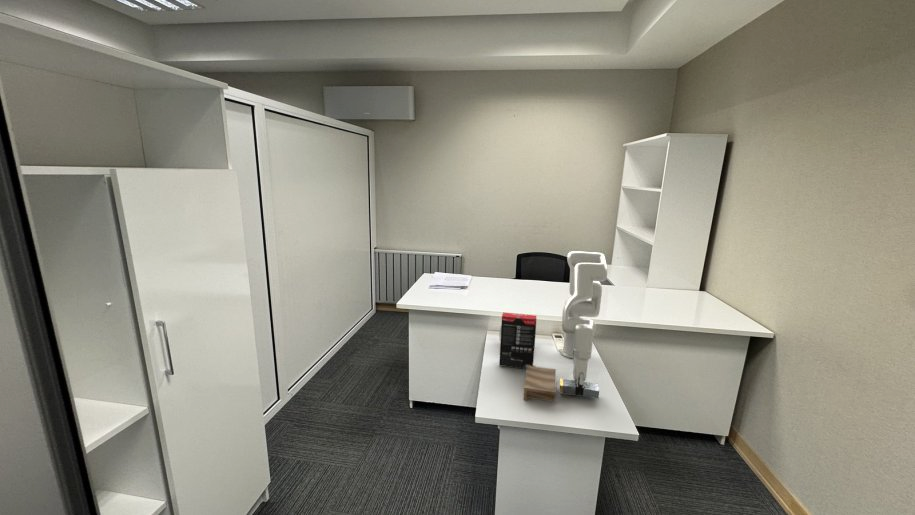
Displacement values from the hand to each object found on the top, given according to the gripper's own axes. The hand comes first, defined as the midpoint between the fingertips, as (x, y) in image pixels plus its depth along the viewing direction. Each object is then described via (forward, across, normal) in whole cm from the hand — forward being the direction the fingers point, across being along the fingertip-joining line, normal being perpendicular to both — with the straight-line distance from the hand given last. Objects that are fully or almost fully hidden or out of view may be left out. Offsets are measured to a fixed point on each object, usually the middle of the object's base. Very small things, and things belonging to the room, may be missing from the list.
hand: (578, 390), depth 163 cm
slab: (+1, 0, 0) cm, 1 cm away
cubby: (+3, 0, -17) cm, 17 cm away
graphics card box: (+3, -20, -29) cm, 35 cm away
